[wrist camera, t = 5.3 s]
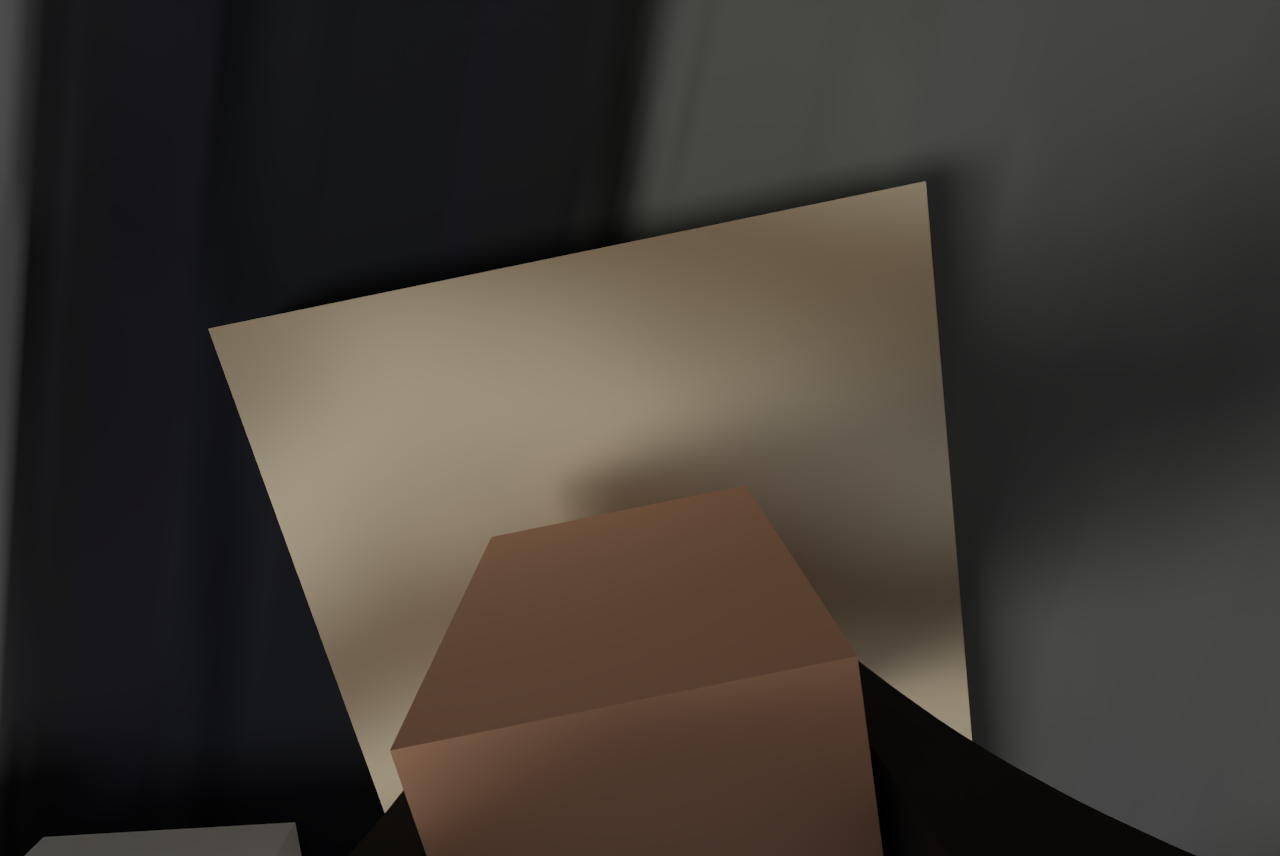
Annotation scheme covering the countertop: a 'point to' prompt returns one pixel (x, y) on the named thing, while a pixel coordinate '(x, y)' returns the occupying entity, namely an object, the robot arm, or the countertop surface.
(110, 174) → the countertop surface
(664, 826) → the terracotta block
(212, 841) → the offwhite block
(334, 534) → the birch board
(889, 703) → the robot arm
